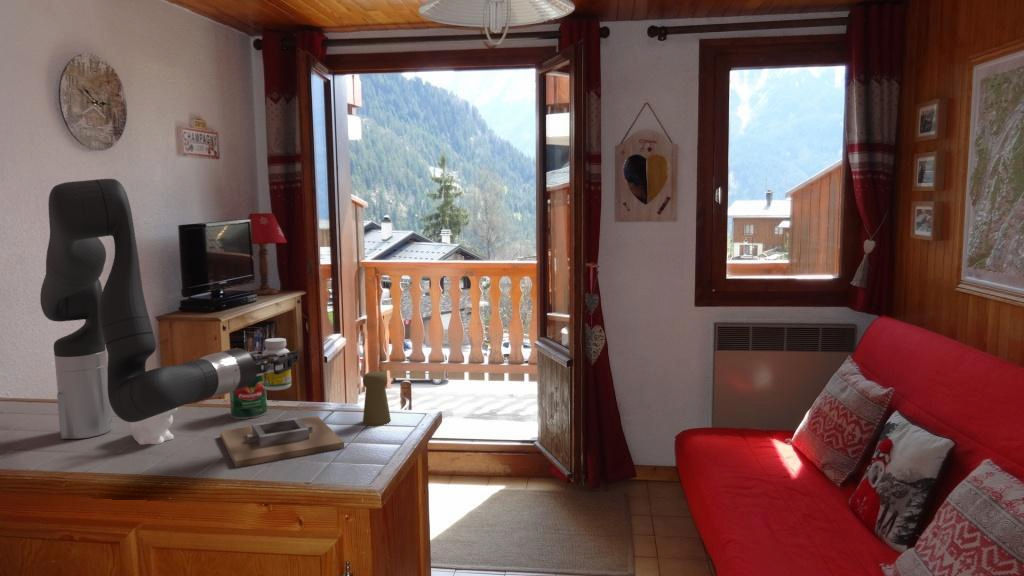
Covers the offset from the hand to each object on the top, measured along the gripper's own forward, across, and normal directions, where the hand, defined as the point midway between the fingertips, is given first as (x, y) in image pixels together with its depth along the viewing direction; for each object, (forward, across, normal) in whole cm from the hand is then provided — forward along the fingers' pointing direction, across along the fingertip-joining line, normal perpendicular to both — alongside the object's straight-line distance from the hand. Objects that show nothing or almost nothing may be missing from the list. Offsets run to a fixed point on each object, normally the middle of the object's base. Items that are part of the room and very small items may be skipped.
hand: (284, 354), depth 146 cm
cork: (+16, -11, +17) cm, 26 cm away
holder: (-2, 0, +17) cm, 18 cm away
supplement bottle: (-3, 0, +6) cm, 7 cm away
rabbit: (-10, +26, +18) cm, 33 cm away
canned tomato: (+11, +20, +18) cm, 29 cm away
